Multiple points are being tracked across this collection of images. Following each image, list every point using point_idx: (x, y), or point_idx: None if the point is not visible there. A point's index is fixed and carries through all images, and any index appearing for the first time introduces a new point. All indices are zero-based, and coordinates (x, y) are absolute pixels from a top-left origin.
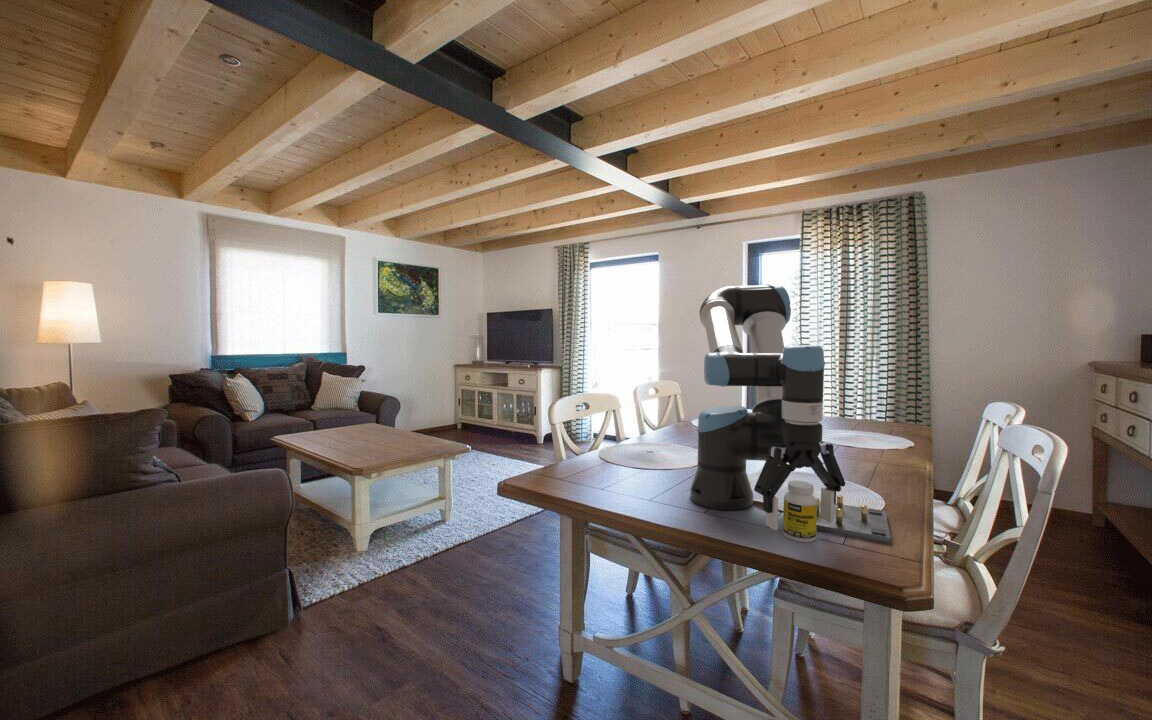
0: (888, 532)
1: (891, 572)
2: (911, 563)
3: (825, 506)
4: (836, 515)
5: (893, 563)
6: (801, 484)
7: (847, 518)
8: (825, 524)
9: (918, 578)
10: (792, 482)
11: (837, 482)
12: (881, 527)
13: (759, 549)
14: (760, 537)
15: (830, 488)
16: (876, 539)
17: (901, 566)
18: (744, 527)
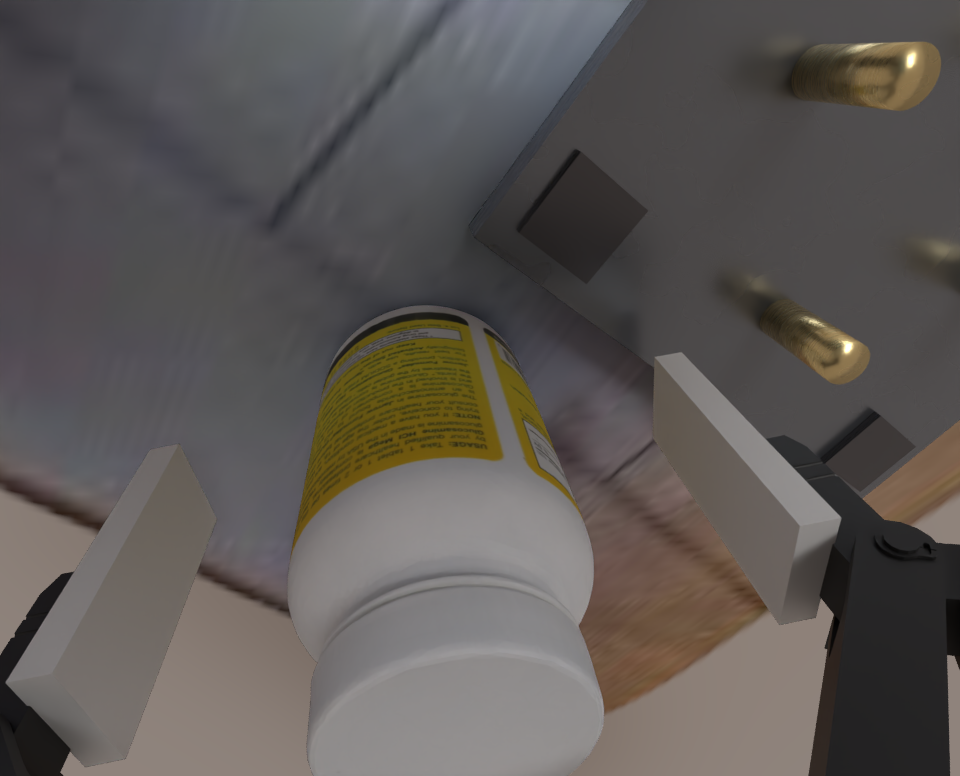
0: (908, 456)
1: (597, 666)
2: (730, 619)
3: (700, 457)
4: (795, 339)
5: (665, 620)
6: (470, 744)
7: (906, 251)
8: (671, 331)
9: (649, 690)
10: (390, 704)
11: (958, 651)
12: (946, 400)
13: (102, 516)
14: (152, 382)
15: (833, 597)
16: None
17: (672, 636)
18: (57, 205)
